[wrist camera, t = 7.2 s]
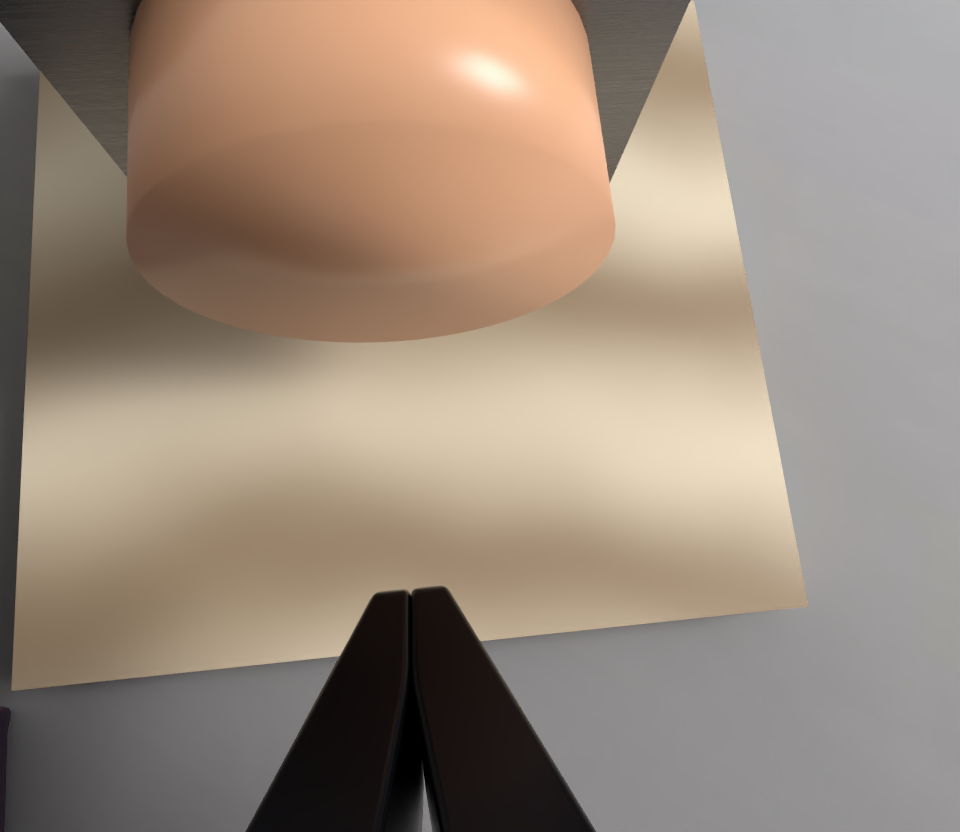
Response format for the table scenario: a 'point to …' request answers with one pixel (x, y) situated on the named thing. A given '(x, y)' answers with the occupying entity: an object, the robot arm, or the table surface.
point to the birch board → (394, 439)
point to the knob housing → (113, 3)
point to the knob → (364, 163)
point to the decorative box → (3, 760)
